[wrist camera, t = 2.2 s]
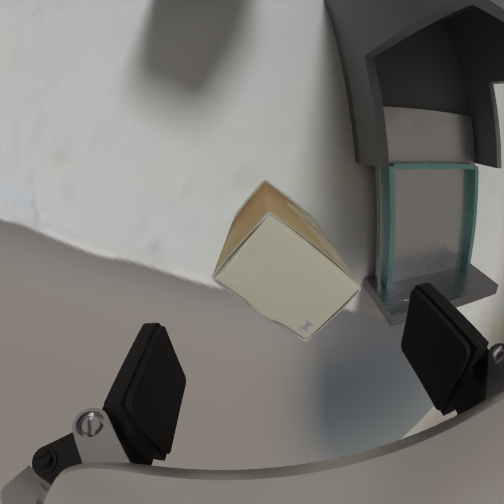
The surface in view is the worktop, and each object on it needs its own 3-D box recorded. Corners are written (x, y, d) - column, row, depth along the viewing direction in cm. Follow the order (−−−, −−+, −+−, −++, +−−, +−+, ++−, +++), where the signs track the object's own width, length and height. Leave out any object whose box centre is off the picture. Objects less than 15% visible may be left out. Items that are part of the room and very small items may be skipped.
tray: (466, 117, 19) (510, 119, 12) (461, 265, 25) (495, 293, 19) (355, 108, 20) (392, 97, 13) (364, 285, 26) (390, 325, 20)
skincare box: (318, 221, 24) (369, 291, 12) (286, 257, 25) (309, 347, 14) (261, 175, 22) (269, 207, 11) (230, 214, 24) (208, 282, 12)
